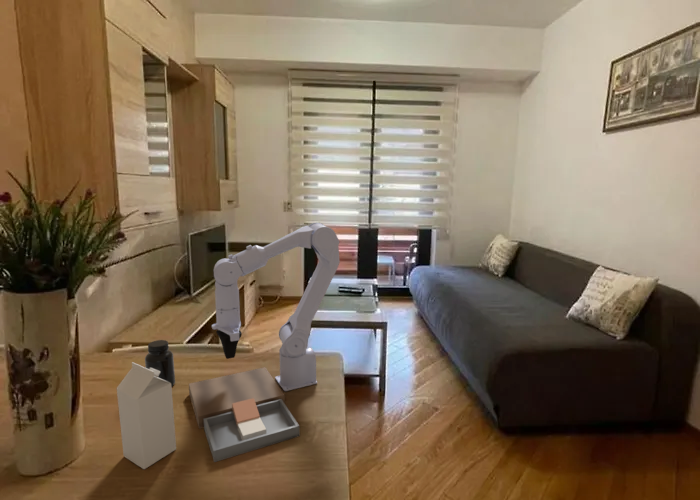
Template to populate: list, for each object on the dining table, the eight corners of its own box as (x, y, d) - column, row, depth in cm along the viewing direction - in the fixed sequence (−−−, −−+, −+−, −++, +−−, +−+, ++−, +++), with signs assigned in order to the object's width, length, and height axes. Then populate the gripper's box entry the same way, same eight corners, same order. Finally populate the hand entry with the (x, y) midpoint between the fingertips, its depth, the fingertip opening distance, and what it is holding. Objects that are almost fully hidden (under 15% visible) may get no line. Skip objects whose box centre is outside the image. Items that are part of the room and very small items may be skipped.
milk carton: (144, 470, 79) (135, 379, 76) (123, 456, 83) (114, 369, 80) (176, 449, 85) (170, 364, 82) (155, 437, 89) (148, 355, 85)
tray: (281, 408, 101) (281, 398, 100) (299, 436, 90) (299, 425, 90) (204, 428, 92) (203, 418, 92) (214, 462, 82) (213, 451, 81)
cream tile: (266, 429, 89) (266, 435, 89) (259, 417, 93) (259, 422, 94) (242, 435, 87) (243, 442, 87) (237, 423, 91) (237, 429, 91)
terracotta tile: (253, 402, 98) (253, 398, 97) (259, 420, 94) (259, 415, 93) (231, 407, 95) (232, 403, 94) (236, 426, 92) (237, 421, 91)
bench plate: (265, 377, 115) (265, 367, 115) (284, 405, 102) (284, 394, 101) (189, 394, 106) (188, 383, 106) (199, 428, 92) (198, 416, 92)
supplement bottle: (180, 383, 111) (177, 341, 109) (157, 395, 106) (153, 351, 103) (165, 376, 115) (162, 336, 113) (141, 387, 109) (137, 344, 107)
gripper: (206, 300, 108) (208, 349, 111) (216, 318, 96) (219, 372, 98) (233, 297, 111) (235, 344, 114) (247, 313, 99) (249, 366, 102)
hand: (230, 357), depth 106 cm, fingers closed
